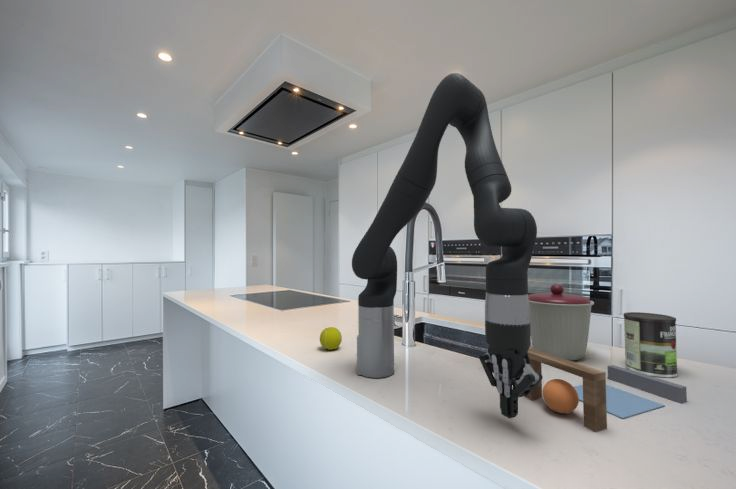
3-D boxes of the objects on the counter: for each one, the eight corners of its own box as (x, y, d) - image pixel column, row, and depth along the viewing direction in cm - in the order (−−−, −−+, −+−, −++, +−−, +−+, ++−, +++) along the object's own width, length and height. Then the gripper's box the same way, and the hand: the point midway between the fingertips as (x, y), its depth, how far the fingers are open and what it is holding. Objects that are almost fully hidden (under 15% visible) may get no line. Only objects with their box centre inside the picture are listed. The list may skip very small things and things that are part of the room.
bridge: (595, 432, 55) (593, 374, 55) (523, 396, 69) (522, 350, 69) (607, 428, 56) (605, 372, 57) (534, 393, 70) (533, 348, 70)
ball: (577, 415, 63) (558, 424, 60) (550, 390, 67) (531, 398, 65) (591, 393, 60) (571, 401, 57) (562, 369, 65) (542, 376, 62)
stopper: (681, 403, 65) (680, 388, 65) (607, 378, 78) (607, 366, 78) (686, 401, 66) (686, 386, 66) (613, 377, 79) (612, 365, 79)
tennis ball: (323, 353, 100) (323, 330, 100) (317, 347, 106) (317, 326, 106) (344, 350, 103) (344, 328, 103) (337, 345, 109) (337, 324, 109)
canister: (517, 357, 95) (515, 285, 96) (533, 343, 109) (531, 280, 109) (591, 371, 83) (589, 289, 84) (599, 354, 97) (597, 283, 98)
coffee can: (686, 374, 81) (684, 317, 81) (664, 380, 77) (662, 321, 77) (638, 361, 90) (637, 310, 91) (616, 367, 86) (614, 313, 87)
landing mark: (622, 419, 59) (622, 418, 59) (558, 391, 71) (557, 390, 71) (664, 406, 64) (664, 405, 64) (597, 382, 76) (597, 381, 76)
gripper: (555, 323, 54) (557, 430, 53) (496, 310, 66) (498, 397, 65) (520, 328, 51) (523, 440, 50) (466, 313, 63) (467, 403, 63)
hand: (508, 415), depth 58 cm, fingers closed
